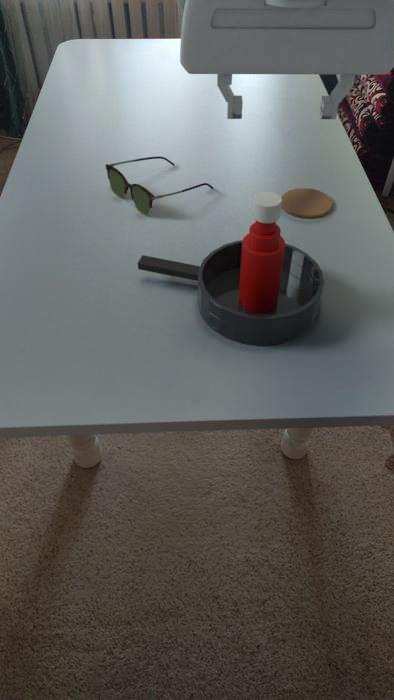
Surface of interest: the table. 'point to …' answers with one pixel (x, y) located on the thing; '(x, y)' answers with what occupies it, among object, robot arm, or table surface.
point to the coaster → (306, 203)
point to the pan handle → (168, 267)
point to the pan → (259, 328)
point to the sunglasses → (137, 187)
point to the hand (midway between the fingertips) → (280, 117)
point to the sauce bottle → (262, 256)
